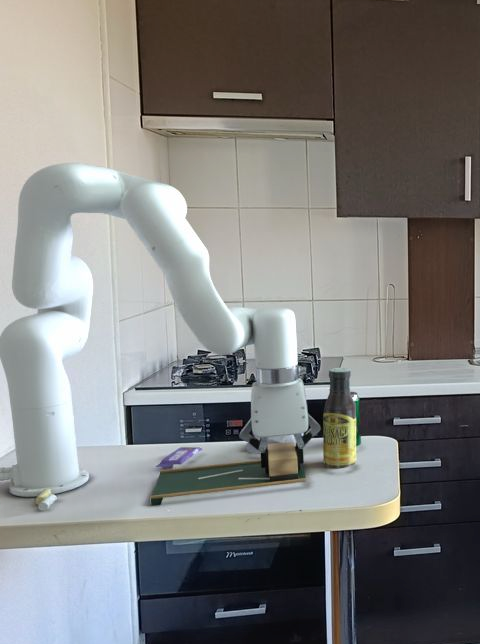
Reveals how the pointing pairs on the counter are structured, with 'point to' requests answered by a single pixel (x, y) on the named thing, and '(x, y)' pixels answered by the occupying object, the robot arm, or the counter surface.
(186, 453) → the snack package
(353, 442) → the sauce bottle
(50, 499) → the chalk stick
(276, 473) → the eraser
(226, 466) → the chalkboard
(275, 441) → the stone block
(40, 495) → the chalk stick
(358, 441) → the soda can
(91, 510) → the counter surface
